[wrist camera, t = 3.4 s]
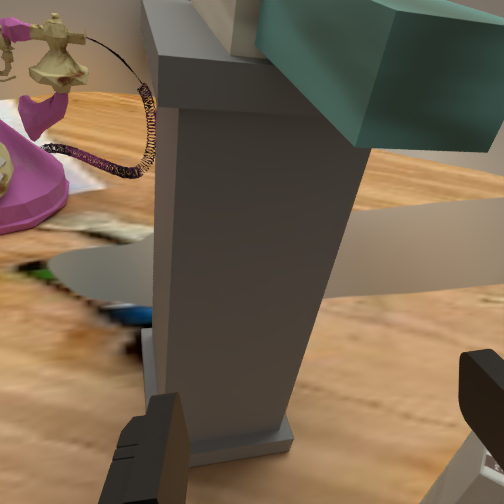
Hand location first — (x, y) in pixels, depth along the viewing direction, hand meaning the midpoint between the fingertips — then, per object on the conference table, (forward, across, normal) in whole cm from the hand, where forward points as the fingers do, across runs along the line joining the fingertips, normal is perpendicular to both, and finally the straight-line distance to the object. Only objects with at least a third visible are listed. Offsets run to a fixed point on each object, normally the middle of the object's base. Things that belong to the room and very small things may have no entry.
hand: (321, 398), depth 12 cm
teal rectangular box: (+10, -2, -10) cm, 14 cm away
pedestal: (+26, +7, +18) cm, 32 cm away
